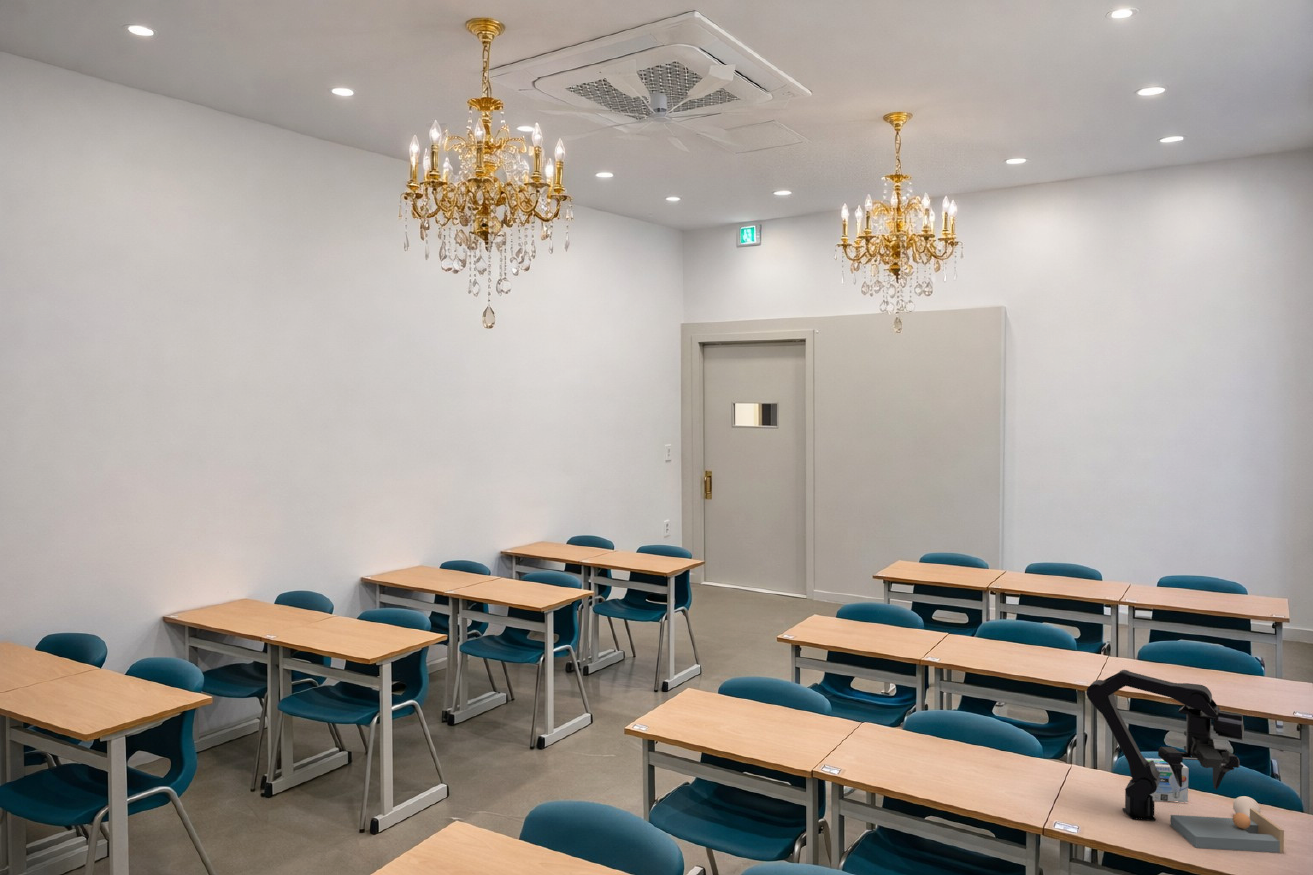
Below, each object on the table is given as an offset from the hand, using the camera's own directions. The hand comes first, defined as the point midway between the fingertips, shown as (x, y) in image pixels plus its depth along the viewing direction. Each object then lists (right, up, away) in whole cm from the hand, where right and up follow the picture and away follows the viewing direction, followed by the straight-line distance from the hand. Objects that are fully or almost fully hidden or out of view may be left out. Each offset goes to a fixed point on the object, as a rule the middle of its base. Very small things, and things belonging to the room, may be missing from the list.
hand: (1197, 787), depth 232 cm
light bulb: (+18, -13, +6) cm, 23 cm away
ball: (+9, -7, -5) cm, 12 cm away
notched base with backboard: (+4, -12, -5) cm, 14 cm away
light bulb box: (+4, -12, +22) cm, 25 cm away
